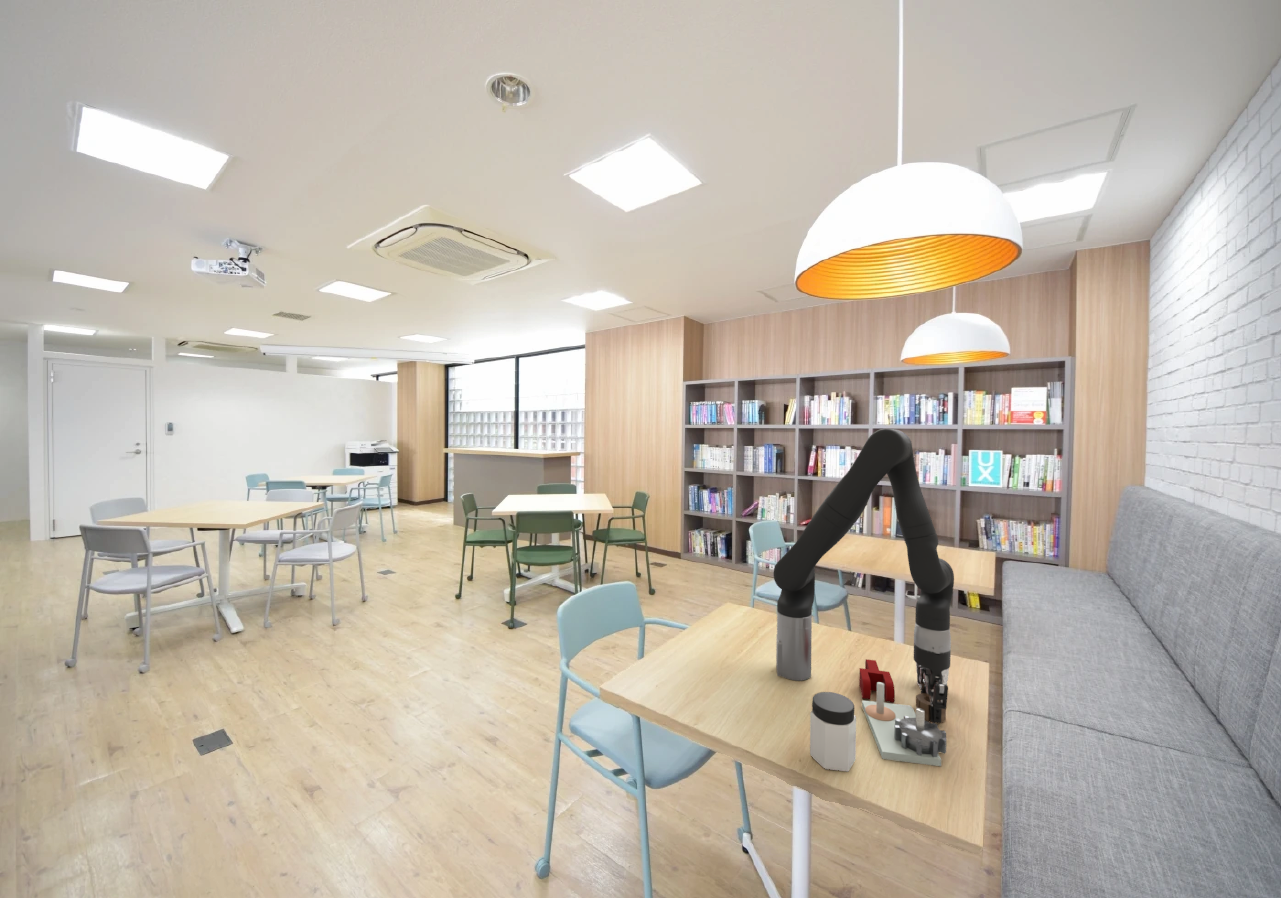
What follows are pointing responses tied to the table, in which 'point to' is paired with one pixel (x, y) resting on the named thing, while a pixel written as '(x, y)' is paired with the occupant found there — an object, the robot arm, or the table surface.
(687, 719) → the table surface
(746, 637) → the table surface
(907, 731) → the fixed gear
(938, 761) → the board
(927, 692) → the robot arm
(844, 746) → the jar
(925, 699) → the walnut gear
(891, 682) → the mechanical linkage
